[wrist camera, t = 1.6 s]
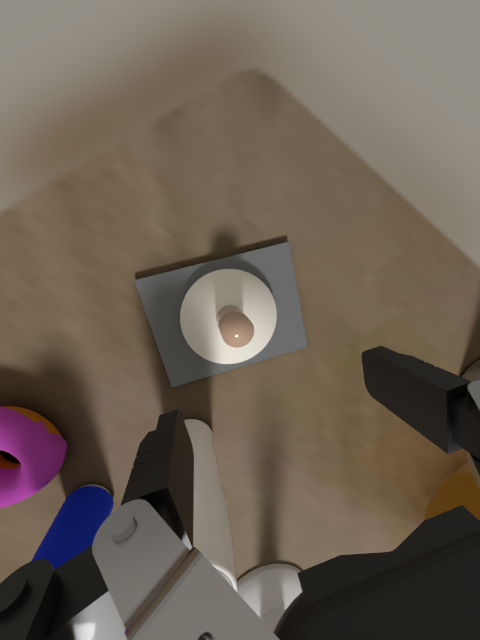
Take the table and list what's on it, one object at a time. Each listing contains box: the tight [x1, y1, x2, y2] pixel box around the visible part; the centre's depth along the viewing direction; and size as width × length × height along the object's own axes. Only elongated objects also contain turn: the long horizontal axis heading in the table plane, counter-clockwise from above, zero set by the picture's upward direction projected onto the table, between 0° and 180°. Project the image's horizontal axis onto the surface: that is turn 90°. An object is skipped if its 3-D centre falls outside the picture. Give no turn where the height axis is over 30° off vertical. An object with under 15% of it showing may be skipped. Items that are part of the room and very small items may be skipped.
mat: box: [134, 242, 308, 388], centre depth 26 cm, size 16×12×1 cm
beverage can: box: [32, 484, 113, 569], centre depth 22 cm, size 5×5×15 cm
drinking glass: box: [184, 419, 238, 592], centre depth 22 cm, size 7×7×15 cm
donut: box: [0, 406, 67, 508], centre depth 24 cm, size 10×10×5 cm
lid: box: [180, 269, 277, 364], centre depth 23 cm, size 10×10×6 cm
